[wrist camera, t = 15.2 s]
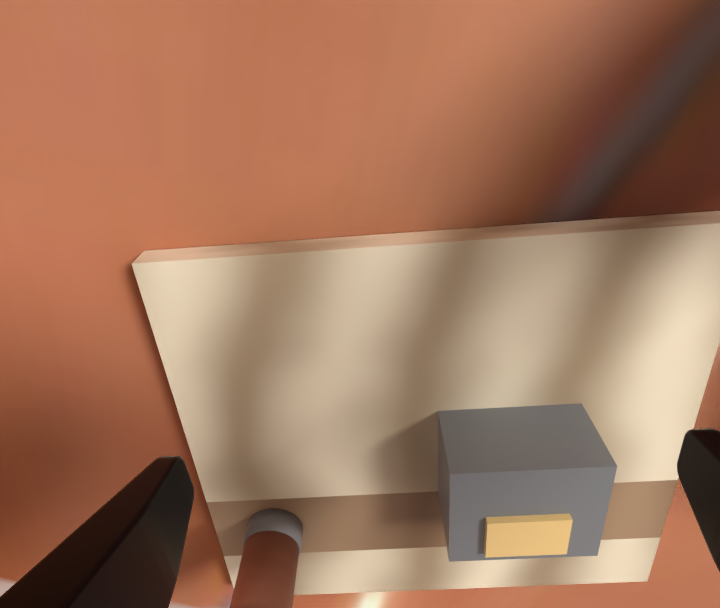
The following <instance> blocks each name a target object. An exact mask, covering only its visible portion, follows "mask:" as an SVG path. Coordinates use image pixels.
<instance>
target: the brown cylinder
mask: <svg viewBox="0 0 720 608" xmlns="http://www.w3.org/2000/svg"><path fill="white" fill-rule="evenodd" d="M302 534H303V524H302V522H301V520H300V519H299V518H298V517H297V516H296V515H294V514H293V513H291V512H289V511H286V510H283V509H277V508H270V509H264V510H261V511H258V512H257V513H255V514H254V515H253V516H252V517H251V518H250V520H249V523H248V527H247V532H246V536H245V540H244V545H243V553H242V558H241V562H240V566H239V571H238V575H237V579H236V584H235V588H234V592H233V596H232V601H231V605H230V608H292V605H293V597H294V589H295V581H296V573H297V565H298V558H299V555H300V550H301V542H302Z"/></svg>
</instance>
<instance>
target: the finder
mask: <svg viewBox="0 0 720 608" xmlns="http://www.w3.org/2000/svg"><path fill="white" fill-rule="evenodd" d="M616 470H617V465H616V463H615V461H614V459H613V458H612V456H611V454H610V452H609V451H608V449H607V447H606V445H605V444H604V442H603V440H602V438H601V436H600V435H599V433H598V431H597V429H596V428H595V426H594V424H593V422H592V421H591V419H590V417H589V415H588V414H587V412H586V410H585V408H584V407H583V405H582V403H578V404H559V405H540V406H521V407H502V408H484V409H465V410H446V411H438V494H439V501H440V507H441V514H442V520H443V527H444V533H445V539H446V546H447V552H448V559H449V562H455V561H480V560H505V559H529V558H554V557H579V556H598V551H599V547H600V542H601V538H602V533H603V529H604V524H605V520H606V515H607V511H608V506H609V502H610V497H611V493H612V488H613V484H614V479H615V475H616Z"/></svg>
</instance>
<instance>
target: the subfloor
mask: <svg viewBox="0 0 720 608" xmlns="http://www.w3.org/2000/svg"><path fill="white" fill-rule="evenodd" d="M132 267H133V270H134V273H135V277H136V280H137V283H138V286H139V289H140V293H141V296H142V299H143V302H144V305H145V308H146V312H147V315H148V318H149V321H150V324H151V327H152V331H153V334H154V337H155V340H156V343H157V346H158V350H159V353H160V356H161V359H162V362H163V365H164V369H165V372H166V375H167V378H168V381H169V385H170V388H171V391H172V394H173V397H174V400H175V404H176V407H177V410H178V413H179V416H180V419H181V423H182V426H183V429H184V432H185V435H186V438H187V442H188V445H189V448H190V451H191V454H192V458H193V461H194V464H195V467H196V470H197V473H198V477H199V480H200V483H201V486H202V489H203V492H204V496H205V499H206V502H207V505H208V508H209V511H210V515H211V518H212V521H213V524H214V527H215V531H216V534H217V537H218V540H219V543H220V546H221V550H222V553H223V556H224V559H225V562H226V565H227V569H228V572H229V575H230V578H231V581H232V584H233V588H235V584H236V579H237V575H238V571H239V566H240V562H241V558H242V553H243V545H244V540H245V536H246V532H247V527H248V523H249V520H250V518H251V517H252V516H253V515H254V514H255V513H257V512H258V511H261V510H264V509H270V508H277V509H283V510H286V511H289V512H291V513H293V514H294V515H296V516H297V517H298V518H299V519H300V520H301V522H302V524H303V534H302V542H301V550H300V555H299V558H298V565H297V573H296V581H295V589H294V595H310V594H335V593H360V592H386V591H411V590H437V589H462V588H488V587H513V586H538V585H564V584H589V583H615V582H640V581H648V577H649V574H650V571H651V567H652V564H653V561H654V557H655V554H656V551H657V547H658V544H659V541H660V538H661V534H662V531H663V528H664V524H665V521H666V518H667V514H668V511H669V508H670V504H671V501H672V498H673V494H674V491H675V488H676V484H677V481H678V478H679V476H678V472H677V461H678V458H679V454H680V450H681V447H682V443H683V439H684V436H685V433H686V432H687V431H688V430H691V429H693V428H694V425H695V421H696V418H697V415H698V411H699V408H700V405H701V401H702V398H703V395H704V391H705V388H706V385H707V381H708V378H709V375H710V371H711V368H712V365H713V362H714V358H715V355H716V352H717V348H718V345H719V342H720V211H707V212H692V213H678V214H664V215H650V216H635V217H621V218H607V219H592V220H578V221H564V222H550V223H535V224H521V225H507V226H492V227H478V228H464V229H450V230H435V231H421V232H407V233H392V234H378V235H364V236H350V237H335V238H321V239H307V240H292V241H278V242H264V243H250V244H235V245H221V246H207V247H192V248H178V249H164V250H150V251H143V252H142V253H141V254H140V255H139V256H138V257H137V258H136V260H135V261H134V262H133V263H132ZM578 403H582V405H583V407H584V408H585V410H586V412H587V414H588V415H589V417H590V419H591V421H592V422H593V424H594V426H595V428H596V429H597V431H598V433H599V435H600V436H601V438H602V440H603V442H604V444H605V445H606V447H607V449H608V451H609V452H610V454H611V456H612V458H613V459H614V461H615V463H616V465H617V470H616V475H615V479H614V484H613V488H612V493H611V497H610V502H609V506H608V511H607V515H606V520H605V524H604V529H603V533H602V538H601V542H600V547H599V551H598V556H579V557H554V558H529V559H505V560H480V561H455V562H449V559H448V552H447V546H446V539H445V533H444V527H443V520H442V514H441V507H440V501H439V494H438V411H446V410H465V409H484V408H502V407H521V406H540V405H559V404H578Z"/></svg>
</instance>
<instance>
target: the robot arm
mask: <svg viewBox="0 0 720 608" xmlns="http://www.w3.org/2000/svg"><path fill="white" fill-rule="evenodd" d="M677 472H678V476H679V479H680V481H681V484H682V486H683V488H684V491H685V493H686V496H687V498H688V500H689V503H690V505H691V508H692V510H693V512H694V515H695V517H696V520H697V522H698V524H699V527H700V529H701V532H702V534H703V536H704V539H705V541H706V544H707V546H708V548H709V551H710V553H711V555H712V557H713V559H714V562H715V564H716V566H717V568H718V570H719V571H720V431H718V430H716V429H711V428H706V429H691V430H688V431H687V432H686V433H685V436H684V439H683V443H682V447H681V450H680V454H679V458H678V461H677ZM193 499H194V487H193V484H192V481H191V478H190V476H189V473H188V470H187V467H186V465H185V462H184V460H183V458H182V457H180V456H163V457H159V458H157V459H156V460H154V461H153V462H152V463H151V464H150V465H149V466H148V467H146V468H145V469H144V470H143V471H142V472H141V473H140V474H139V475H137V476H136V477H135V478H134V479H133V480H132V481H131V482H130V483H128V484H127V485H126V486H125V487H124V488H123V489H122V490H120V491H119V492H118V493H117V494H116V495H115V496H114V497H113V498H111V499H110V500H109V501H108V502H107V503H106V504H105V505H104V506H102V507H101V508H100V509H99V510H98V511H97V512H96V513H94V514H93V515H92V516H91V517H90V518H89V519H88V520H87V521H85V522H84V523H83V524H82V525H81V526H80V527H79V528H78V529H76V530H75V531H74V532H73V533H72V534H71V535H70V536H69V537H67V538H66V539H65V540H64V541H63V542H62V543H61V544H59V545H58V546H57V547H56V548H55V549H54V550H53V551H52V552H50V553H49V554H48V555H47V556H46V557H45V558H44V559H43V560H41V561H40V562H39V563H38V564H37V565H36V566H35V567H33V568H32V569H31V570H30V571H29V572H28V573H27V574H26V575H24V576H23V577H22V578H21V579H20V580H19V581H18V582H17V583H15V584H14V585H13V586H12V587H11V588H10V589H9V590H8V591H6V592H5V593H4V594H3V595H2V596H1V597H0V608H168V607H169V604H170V601H171V597H172V594H173V591H174V587H175V584H176V581H177V576H178V572H179V568H180V563H181V558H182V553H183V548H184V543H185V539H186V534H187V529H188V524H189V519H190V514H191V509H192V504H193Z"/></svg>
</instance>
